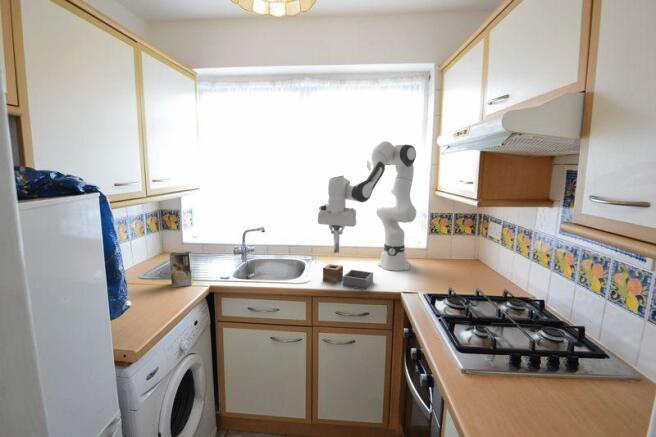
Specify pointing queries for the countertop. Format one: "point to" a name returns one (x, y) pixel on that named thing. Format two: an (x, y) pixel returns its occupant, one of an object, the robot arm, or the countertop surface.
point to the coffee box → (181, 269)
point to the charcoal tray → (358, 279)
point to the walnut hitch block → (333, 273)
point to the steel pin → (336, 238)
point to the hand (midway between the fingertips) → (336, 233)
